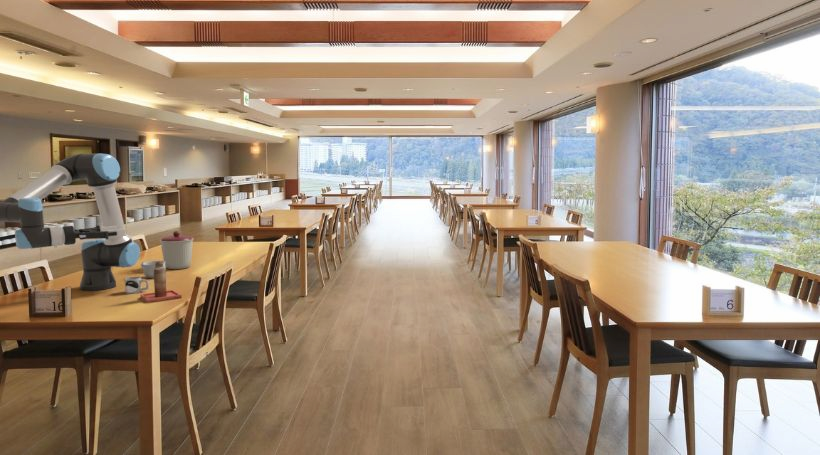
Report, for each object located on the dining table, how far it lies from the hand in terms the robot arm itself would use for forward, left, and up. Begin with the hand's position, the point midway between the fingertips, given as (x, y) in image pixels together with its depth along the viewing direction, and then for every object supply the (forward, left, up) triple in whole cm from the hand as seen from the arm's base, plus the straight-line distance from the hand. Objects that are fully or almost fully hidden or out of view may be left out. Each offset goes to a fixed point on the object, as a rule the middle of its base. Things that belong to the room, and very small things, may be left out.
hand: (121, 230), depth 234 cm
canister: (-64, +42, -31) cm, 83 cm away
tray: (+3, +14, -31) cm, 34 cm away
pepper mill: (+3, +14, -30) cm, 33 cm away
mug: (-16, +9, -31) cm, 36 cm away
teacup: (-47, +24, -31) cm, 61 cm away
